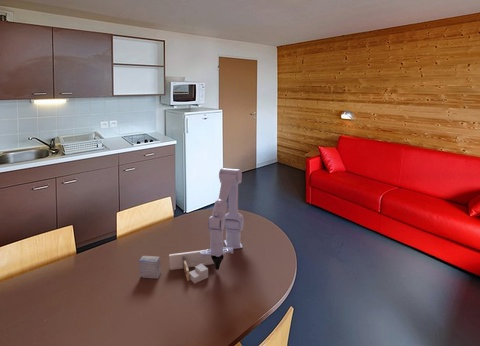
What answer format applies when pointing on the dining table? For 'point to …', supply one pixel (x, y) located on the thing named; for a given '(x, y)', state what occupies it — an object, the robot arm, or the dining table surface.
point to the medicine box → (150, 267)
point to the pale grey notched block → (198, 273)
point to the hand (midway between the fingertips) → (217, 268)
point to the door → (186, 270)
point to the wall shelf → (188, 260)
